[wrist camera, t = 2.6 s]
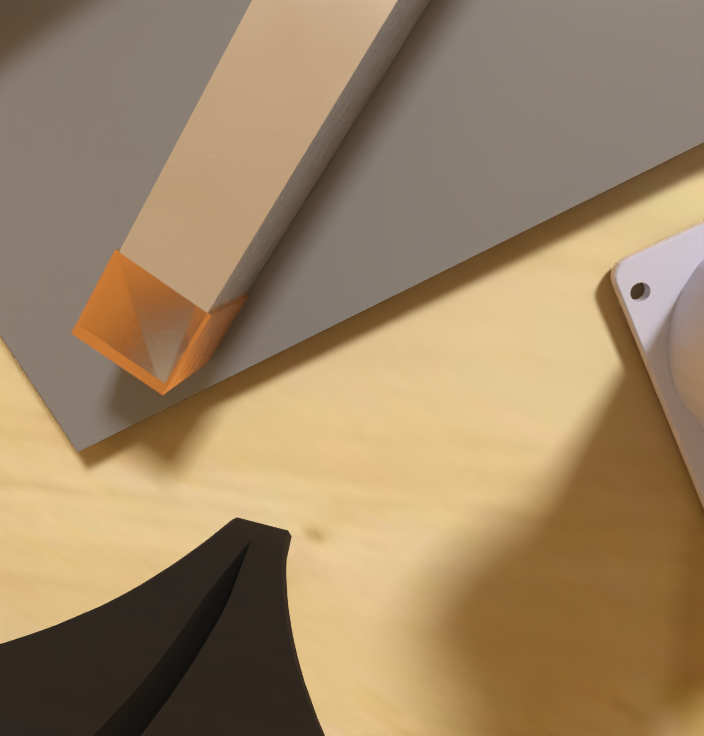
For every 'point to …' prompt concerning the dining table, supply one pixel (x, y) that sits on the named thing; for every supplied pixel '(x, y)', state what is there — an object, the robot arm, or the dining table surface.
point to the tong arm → (239, 179)
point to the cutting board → (340, 177)
